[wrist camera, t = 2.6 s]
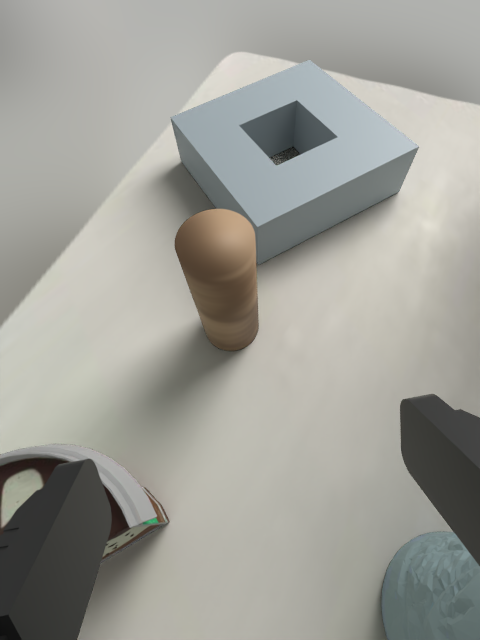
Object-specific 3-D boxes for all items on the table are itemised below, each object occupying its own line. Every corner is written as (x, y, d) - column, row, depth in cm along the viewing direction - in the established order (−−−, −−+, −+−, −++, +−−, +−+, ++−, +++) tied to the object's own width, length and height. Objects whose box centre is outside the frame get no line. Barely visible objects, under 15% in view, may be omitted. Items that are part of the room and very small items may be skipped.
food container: (155, 425, 26) (97, 389, 17) (190, 509, 23) (143, 519, 14) (-12, 517, 24) (-180, 531, 15) (6, 619, 21) (-183, 712, 12)
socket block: (304, 107, 41) (309, 59, 36) (399, 191, 34) (419, 146, 30) (181, 161, 38) (170, 117, 34) (258, 264, 31) (257, 226, 27)
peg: (241, 294, 30) (230, 197, 20) (268, 334, 28) (271, 249, 19) (196, 318, 29) (161, 230, 20) (221, 360, 28) (197, 287, 18)
